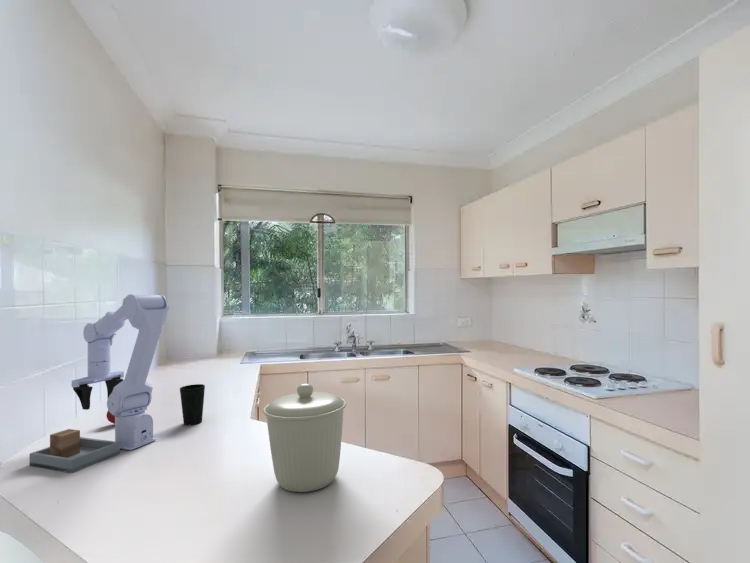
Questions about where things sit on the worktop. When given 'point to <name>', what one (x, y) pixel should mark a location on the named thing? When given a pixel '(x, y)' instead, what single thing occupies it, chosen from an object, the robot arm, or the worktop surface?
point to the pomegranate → (110, 417)
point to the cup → (192, 403)
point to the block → (65, 443)
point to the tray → (88, 455)
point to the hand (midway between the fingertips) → (99, 405)
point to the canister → (305, 438)
